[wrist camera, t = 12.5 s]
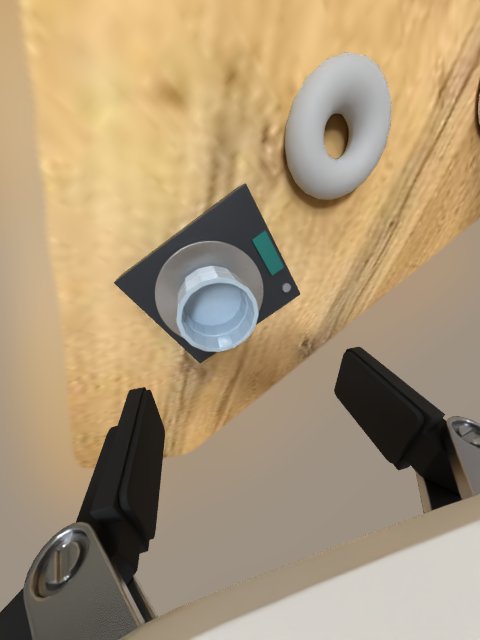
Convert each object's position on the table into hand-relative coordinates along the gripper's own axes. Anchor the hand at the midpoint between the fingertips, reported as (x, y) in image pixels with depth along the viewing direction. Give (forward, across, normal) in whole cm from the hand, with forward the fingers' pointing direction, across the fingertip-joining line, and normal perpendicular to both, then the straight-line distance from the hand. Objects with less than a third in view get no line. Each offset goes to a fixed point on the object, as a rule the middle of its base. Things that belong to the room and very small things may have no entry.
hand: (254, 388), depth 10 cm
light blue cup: (+13, +1, 0) cm, 13 cm away
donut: (+17, -12, -13) cm, 25 cm away
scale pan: (+14, +1, 0) cm, 14 cm away
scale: (+16, 0, 0) cm, 16 cm away
